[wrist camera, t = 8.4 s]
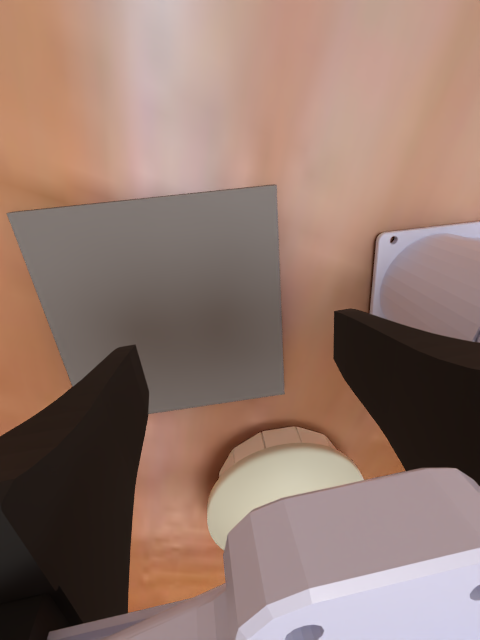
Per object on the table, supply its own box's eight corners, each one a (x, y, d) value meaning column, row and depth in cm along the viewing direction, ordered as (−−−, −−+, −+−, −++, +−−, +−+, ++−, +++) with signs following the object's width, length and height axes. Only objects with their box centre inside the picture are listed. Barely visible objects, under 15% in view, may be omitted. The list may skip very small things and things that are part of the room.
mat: (274, 184, 19) (276, 185, 19) (282, 389, 26) (284, 394, 25) (12, 212, 18) (6, 213, 18) (88, 417, 25) (86, 422, 24)
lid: (323, 414, 23) (352, 473, 19) (384, 507, 29) (418, 570, 24) (174, 495, 25) (168, 566, 21) (258, 568, 31) (268, 638, 26)
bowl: (341, 419, 28) (357, 446, 25) (337, 504, 33) (349, 534, 30) (213, 438, 27) (214, 468, 25) (227, 522, 32) (230, 555, 29)
